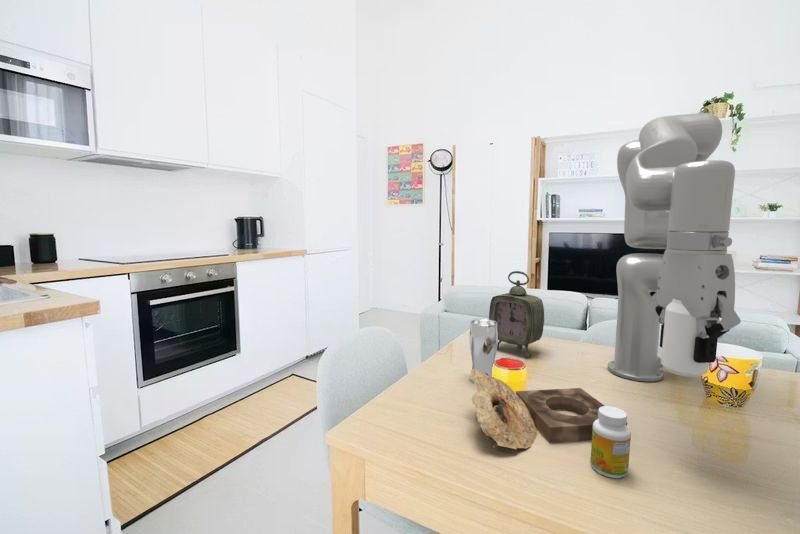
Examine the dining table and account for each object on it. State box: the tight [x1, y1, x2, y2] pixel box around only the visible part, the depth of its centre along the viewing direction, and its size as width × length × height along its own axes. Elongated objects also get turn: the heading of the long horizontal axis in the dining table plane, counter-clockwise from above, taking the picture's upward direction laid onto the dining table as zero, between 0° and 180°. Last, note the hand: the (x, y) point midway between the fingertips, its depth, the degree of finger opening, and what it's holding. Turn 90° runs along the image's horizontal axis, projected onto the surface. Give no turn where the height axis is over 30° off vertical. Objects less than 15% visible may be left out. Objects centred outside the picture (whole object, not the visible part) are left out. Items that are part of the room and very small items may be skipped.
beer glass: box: [469, 318, 499, 384], centre depth 96 cm, size 7×7×15 cm
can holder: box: [515, 387, 628, 444], centre depth 77 cm, size 15×15×3 cm
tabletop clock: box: [488, 270, 545, 358], centre depth 117 cm, size 14×9×25 cm, turn 43°
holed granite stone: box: [469, 369, 539, 450], centre depth 75 cm, size 18×14×8 cm
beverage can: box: [660, 299, 711, 378], centre depth 62 cm, size 6×6×12 cm
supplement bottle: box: [590, 405, 632, 479], centre depth 62 cm, size 5×5×10 cm
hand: (685, 353), depth 62 cm, fingers closed on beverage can, 5 cm apart
